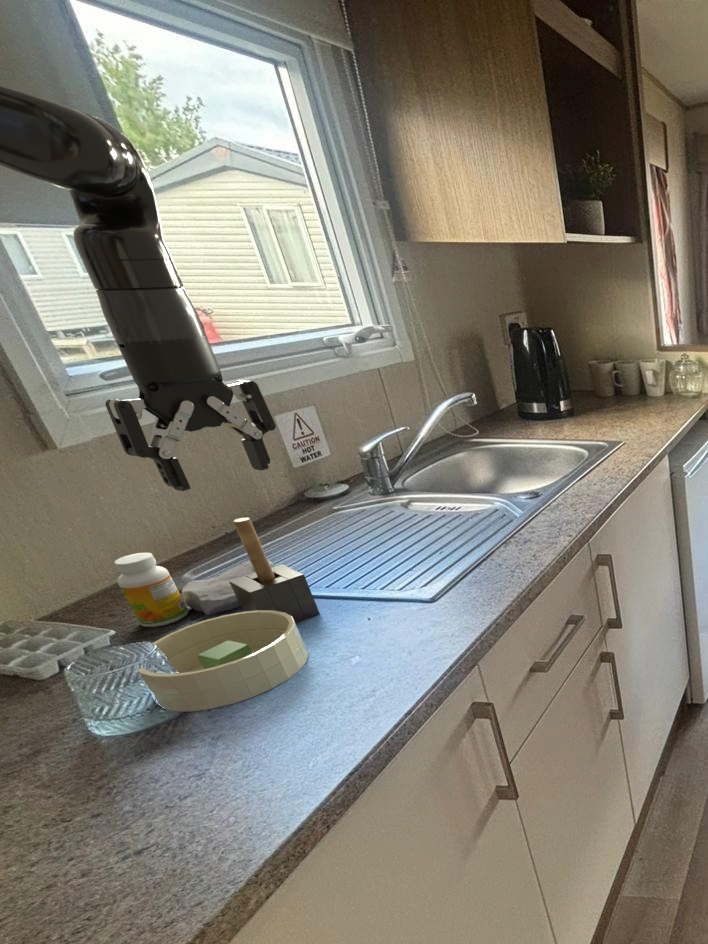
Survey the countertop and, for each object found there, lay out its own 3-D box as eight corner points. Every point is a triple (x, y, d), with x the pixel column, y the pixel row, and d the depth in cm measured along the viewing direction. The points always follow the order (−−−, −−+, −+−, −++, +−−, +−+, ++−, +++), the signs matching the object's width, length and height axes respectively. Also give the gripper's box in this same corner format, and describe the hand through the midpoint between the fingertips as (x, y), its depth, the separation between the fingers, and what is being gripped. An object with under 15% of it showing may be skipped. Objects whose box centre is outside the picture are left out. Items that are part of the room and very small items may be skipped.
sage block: (230, 684, 80) (217, 659, 78) (209, 679, 80) (196, 655, 79) (260, 668, 83) (248, 644, 81) (239, 664, 84) (227, 639, 82)
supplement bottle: (131, 625, 94) (96, 563, 89) (173, 607, 98) (141, 548, 94) (157, 630, 92) (123, 568, 88) (198, 612, 97) (167, 552, 92)
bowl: (186, 732, 73) (162, 691, 70) (137, 689, 80) (114, 651, 77) (332, 666, 84) (317, 629, 81) (277, 634, 91) (262, 600, 88)
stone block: (306, 599, 104) (271, 574, 108) (297, 574, 101) (261, 550, 105) (219, 634, 95) (184, 606, 99) (206, 608, 93) (171, 580, 96)
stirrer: (281, 625, 93) (236, 522, 86) (275, 622, 94) (230, 520, 87) (295, 620, 95) (252, 518, 87) (289, 616, 96) (246, 516, 88)
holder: (270, 637, 90) (249, 592, 87) (249, 625, 94) (228, 581, 90) (321, 617, 95) (304, 574, 92) (300, 606, 99) (282, 563, 95)
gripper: (213, 327, 78) (266, 460, 86) (56, 340, 67) (133, 493, 74) (252, 329, 76) (303, 466, 83) (96, 343, 64) (172, 501, 72)
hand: (223, 479), depth 79 cm, fingers open, 8 cm apart
